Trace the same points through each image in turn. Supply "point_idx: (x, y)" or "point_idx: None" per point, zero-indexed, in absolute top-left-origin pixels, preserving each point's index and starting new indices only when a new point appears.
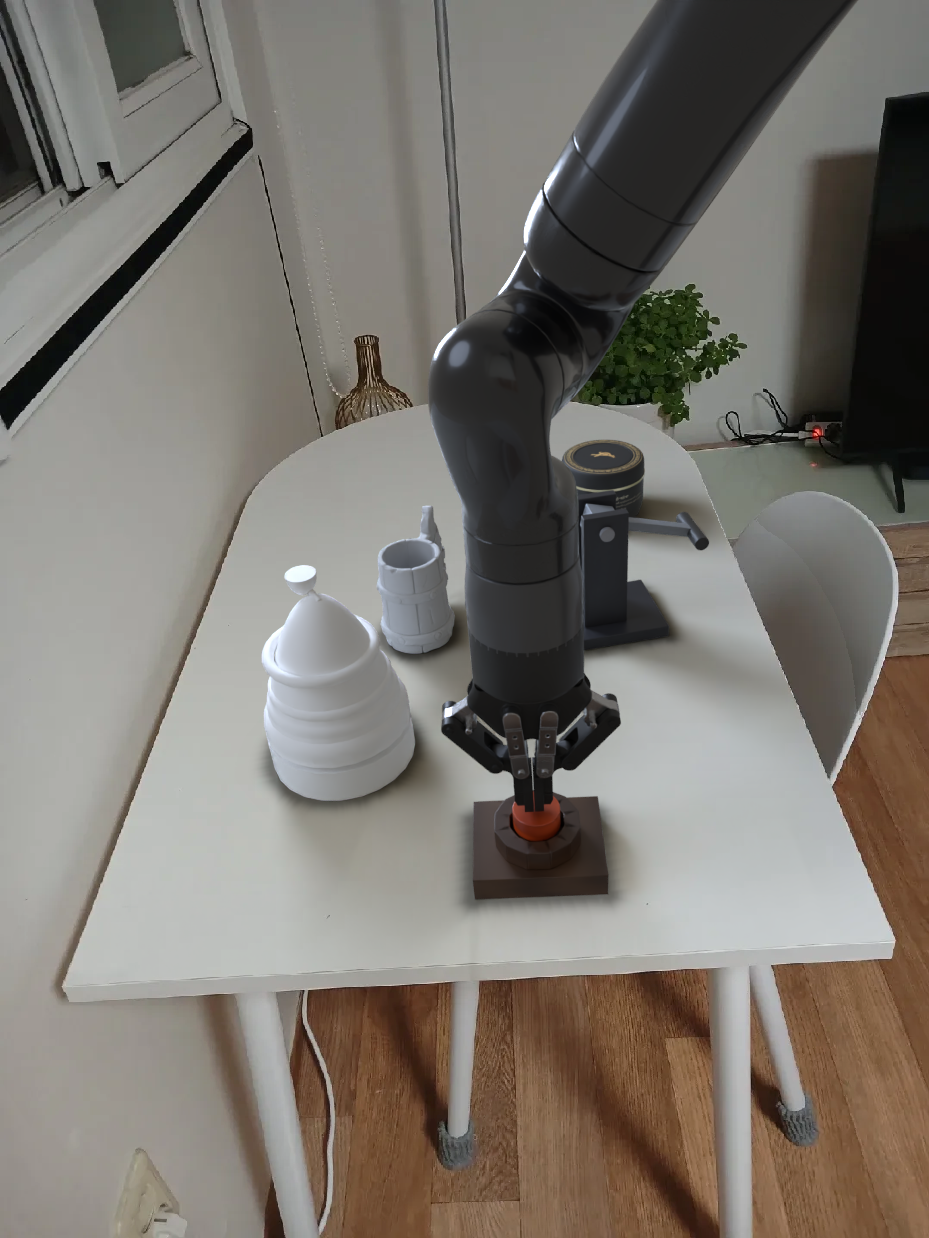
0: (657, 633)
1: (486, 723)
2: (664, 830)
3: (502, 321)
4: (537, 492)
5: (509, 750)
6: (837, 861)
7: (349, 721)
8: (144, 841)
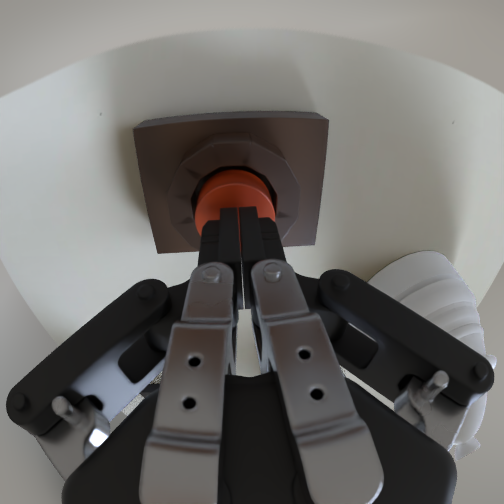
0: (146, 387)
1: (399, 416)
2: (93, 216)
3: None
4: None
5: (325, 339)
6: None
7: (441, 328)
8: None
